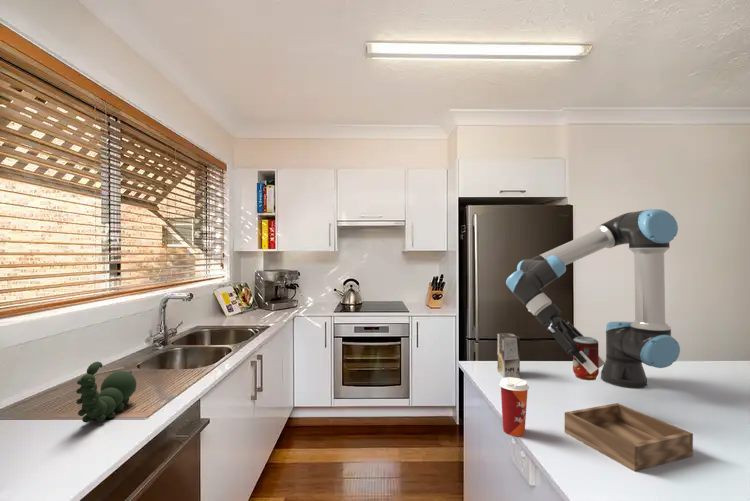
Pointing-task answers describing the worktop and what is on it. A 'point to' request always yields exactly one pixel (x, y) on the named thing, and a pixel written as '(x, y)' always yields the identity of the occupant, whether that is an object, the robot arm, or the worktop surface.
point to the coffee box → (509, 355)
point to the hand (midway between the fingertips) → (598, 368)
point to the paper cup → (514, 405)
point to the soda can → (591, 351)
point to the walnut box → (629, 436)
